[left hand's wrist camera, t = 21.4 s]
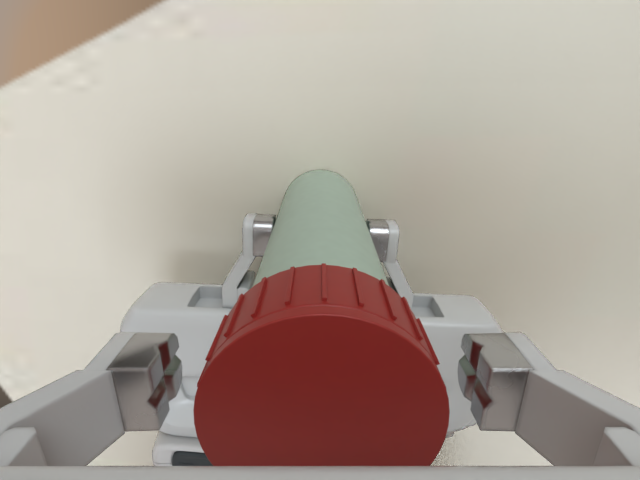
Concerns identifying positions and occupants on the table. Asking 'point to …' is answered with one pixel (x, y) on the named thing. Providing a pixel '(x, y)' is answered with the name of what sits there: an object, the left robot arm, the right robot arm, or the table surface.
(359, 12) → the table surface
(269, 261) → the jar
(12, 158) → the table surface
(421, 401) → the lid
